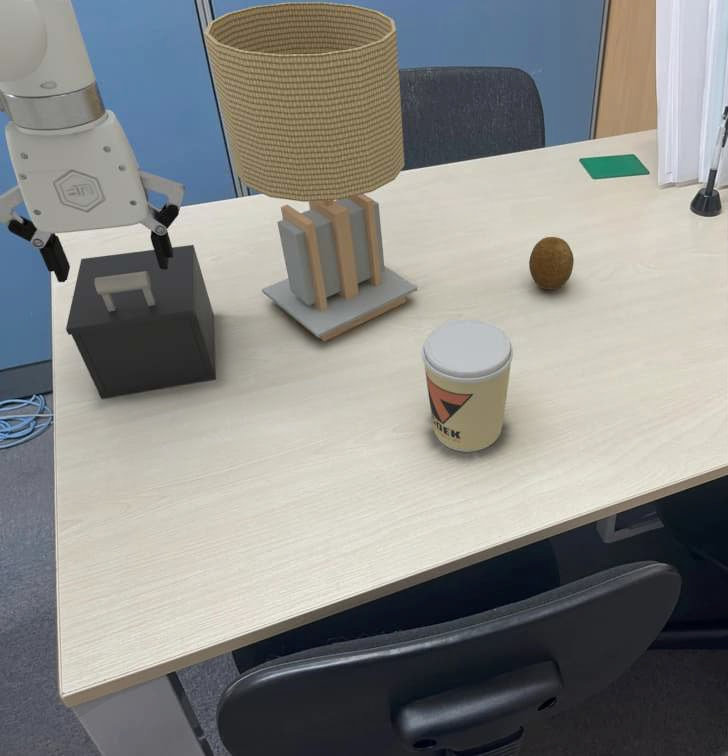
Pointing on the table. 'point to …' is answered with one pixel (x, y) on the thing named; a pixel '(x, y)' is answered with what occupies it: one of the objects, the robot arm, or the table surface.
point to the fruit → (551, 263)
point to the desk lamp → (317, 147)
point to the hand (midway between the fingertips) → (115, 269)
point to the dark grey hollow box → (153, 351)
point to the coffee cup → (467, 382)
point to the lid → (132, 290)
